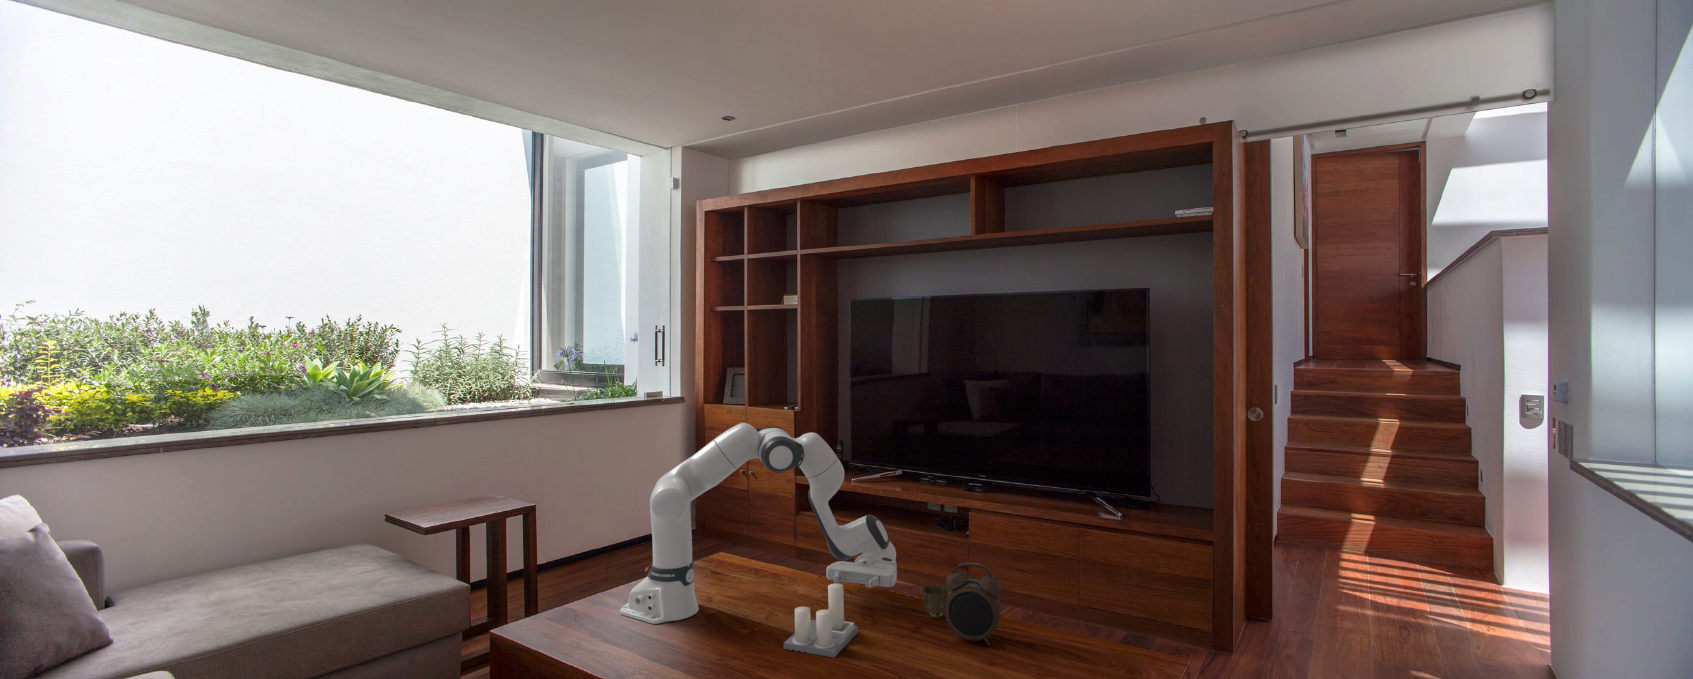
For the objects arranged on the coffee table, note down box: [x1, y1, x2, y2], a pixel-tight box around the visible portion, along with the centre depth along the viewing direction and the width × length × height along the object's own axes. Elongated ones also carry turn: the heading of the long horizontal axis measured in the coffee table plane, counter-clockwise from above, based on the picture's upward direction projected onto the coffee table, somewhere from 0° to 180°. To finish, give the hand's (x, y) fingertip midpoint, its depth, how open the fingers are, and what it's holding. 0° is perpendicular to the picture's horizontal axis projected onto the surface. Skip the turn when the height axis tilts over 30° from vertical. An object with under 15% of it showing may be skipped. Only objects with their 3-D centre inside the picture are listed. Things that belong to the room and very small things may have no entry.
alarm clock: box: [943, 562, 1003, 645], centre depth 187 cm, size 15×7×20 cm, turn 71°
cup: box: [922, 584, 950, 620], centre depth 203 cm, size 8×7×8 cm
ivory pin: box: [827, 583, 845, 632], centre depth 191 cm, size 4×4×12 cm
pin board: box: [783, 606, 859, 658], centre depth 189 cm, size 14×16×10 cm
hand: (851, 582), depth 202 cm, fingers open, 8 cm apart
